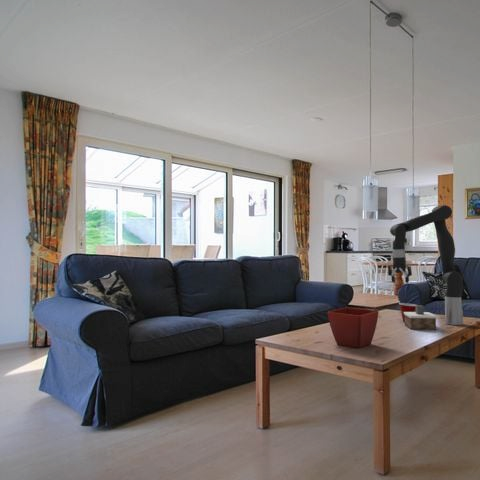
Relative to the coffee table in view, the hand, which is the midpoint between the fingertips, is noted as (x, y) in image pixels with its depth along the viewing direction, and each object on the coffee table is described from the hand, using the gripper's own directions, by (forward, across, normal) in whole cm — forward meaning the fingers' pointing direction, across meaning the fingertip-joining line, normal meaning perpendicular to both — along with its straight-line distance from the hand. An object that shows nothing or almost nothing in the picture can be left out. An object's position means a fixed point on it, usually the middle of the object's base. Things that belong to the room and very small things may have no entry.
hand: (400, 282), depth 260 cm
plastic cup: (+27, +3, -14) cm, 30 cm away
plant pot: (+26, -6, +64) cm, 70 cm away
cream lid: (+20, -11, -1) cm, 23 cm away
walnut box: (+27, -11, -1) cm, 29 cm away
